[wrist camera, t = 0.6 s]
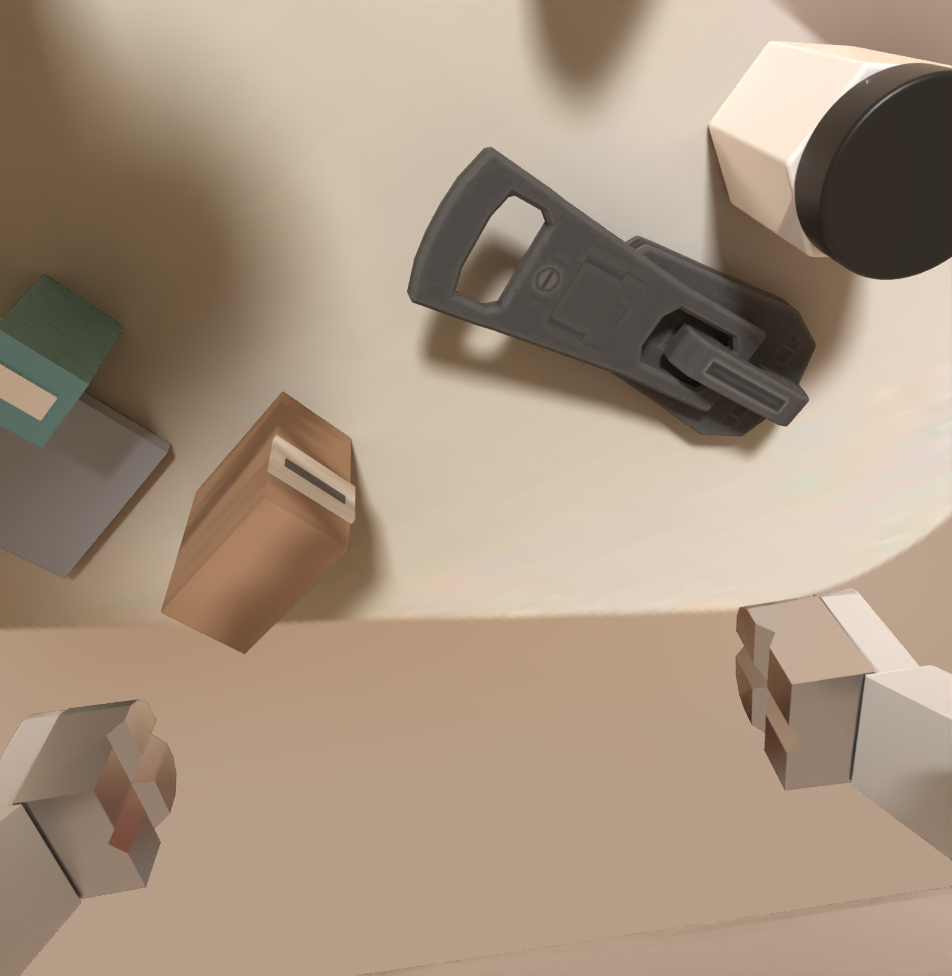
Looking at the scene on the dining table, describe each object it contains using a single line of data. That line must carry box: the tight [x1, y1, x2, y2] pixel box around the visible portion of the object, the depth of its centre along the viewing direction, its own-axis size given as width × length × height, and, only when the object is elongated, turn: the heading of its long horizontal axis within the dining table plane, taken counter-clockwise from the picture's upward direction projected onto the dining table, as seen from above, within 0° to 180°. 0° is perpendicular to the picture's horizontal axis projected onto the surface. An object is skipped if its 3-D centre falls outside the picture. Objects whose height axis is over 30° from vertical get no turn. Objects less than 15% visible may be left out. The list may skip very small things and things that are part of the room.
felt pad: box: [0, 392, 171, 578], centre depth 48 cm, size 8×12×1 cm, turn 137°
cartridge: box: [0, 274, 124, 448], centre depth 40 cm, size 4×4×7 cm
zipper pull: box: [407, 147, 816, 436], centre depth 43 cm, size 9×7×25 cm
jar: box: [709, 41, 952, 280], centre depth 37 cm, size 9×8×12 cm
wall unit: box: [161, 392, 355, 654], centre depth 45 cm, size 5×10×11 cm, turn 137°
